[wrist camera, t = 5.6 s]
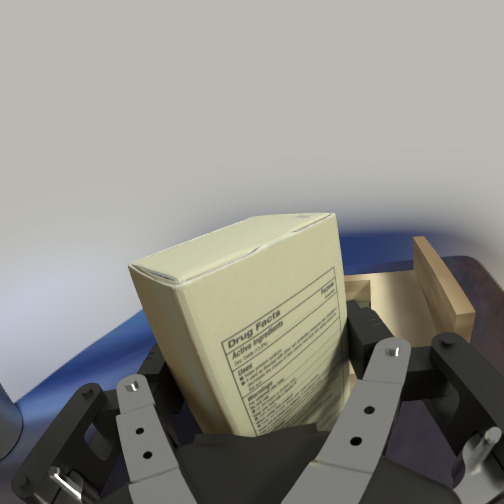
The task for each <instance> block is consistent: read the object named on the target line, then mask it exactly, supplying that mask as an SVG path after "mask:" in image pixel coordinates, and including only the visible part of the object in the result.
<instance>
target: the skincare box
mask: <svg viewBox="0 0 504 504" xmlns="http://www.w3.org/2000/svg"><path fill="white" fill-rule="evenodd" d="M128 268H129V271H130V274H131V277H132V280H133V283H134V286H135V288H136V291H137V293H138V296H139V299H140V301H141V304H142V307H143V309H144V312H145V314H146V317H147V319H148V322H149V324H150V327H151V329H152V332H153V334H154V336H155V339H156V341H157V343H158V345H159V348H160V350H161V352H162V355H163V357H164V359H165V361H166V363H167V365H168V367H169V369H170V372H171V374H172V376H173V378H174V380H175V382H176V384H177V386H178V388H179V390H180V392H181V394H182V395H183V397H184V399H185V401H186V403H187V405H188V407H189V409H190V411H191V412H192V414H193V416H194V418H195V419H196V421H197V423H198V424H199V426H200V428H201V430H202V431H203V433H204V434H212V433H225V434H232V435H239V436H246V437H256V436H260V435H263V434H267V433H270V432H273V431H276V430H280V429H283V428H286V427H293V426H299V425H305V424H311V423H316V426H317V431H332V429H333V427H334V426H335V424H336V422H337V420H338V418H339V416H340V414H341V412H342V410H343V408H344V406H345V404H346V402H347V400H348V398H349V396H350V364H349V341H348V321H347V307H346V294H345V284H344V275H343V266H342V258H341V251H340V243H339V236H338V228H337V221H336V215H335V214H334V213H301V214H282V215H281V214H279V215H265V216H256V217H251V218H249V219H246V220H244V221H241V222H238V223H235V224H232V225H231V226H227V227H224V228H221V229H219V230H216V231H213V232H211V233H208V234H206V235H202V236H200V237H197V238H195V239H193V240H189V241H187V242H184V243H182V244H180V245H176V246H174V247H172V248H169V249H166V250H163V251H161V252H158V253H156V254H153V255H151V256H148V257H145V258H143V259H140V260H138V261H135V262H132V263H129V264H128Z"/></svg>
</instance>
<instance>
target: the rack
mask: <svg viewBox="0 0 504 504" xmlns="http://www.w3.org/2000/svg"><path fill="white" fill-rule="evenodd" d="M413 251H414V252H413V255H414V270H410V271H399V272H387V273H375V274H363V275H349V276H344V284H345V294H346V301H348V300H352V299H355V301H356V302H357V303H358V305H359V306H360V308H364V307H368V308H369V302H371V309H372V310H374V311H376V313H377V314H378V315H379V317H380V318H381V319H382V321H383V323H385V325H386V326H387V327H388V329H389V330H390V331H391V333H392V334H393V335H394V337H397V338H402V339H405V340H406V341H408V342H409V343H410V345H411V347H424V346H431V341H432V339H433V337H434V336H436V335H437V334H439V333H443V332H453V333H457V334H459V335H460V336H462V337H463V338H464V339H465V340H466V341H467V342H468V343H470V338H471V334H472V329H473V324H474V318H475V310H474V308H473V307H472V305H471V303H470V302H469V300H468V299H467V297H466V295H465V294H464V292H463V291H462V289H461V287H460V286H459V284H458V283H457V281H456V280H455V278H454V277H453V275H452V274H451V272H450V271H449V270H448V268H447V267H446V265H445V264H444V262H443V261H442V260H441V258H440V257H439V256H438V254H437V253H436V252H435V250H434V249H433V248H432V246H431V245H430V244H429V242H428V241H427V240H426V239H425V237H424V236H419V237H413ZM349 364H350V394H351V391H352V389H353V387H354V385H355V383H356V381H357V380H358V379H357V377H356V375H355V372H354V370H353V367H352V365H351V363H350V360H349Z"/></svg>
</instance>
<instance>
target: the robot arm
mask: <svg viewBox="0 0 504 504" xmlns="http://www.w3.org/2000/svg"><path fill="white" fill-rule="evenodd" d="M346 307H347V321H348V341H349V360H350V363H351V365H352V367H353V370H354V372H355V375H356V377H357V379H358V380H357V381H356V383H355V385H354V387H353V389H352V391H351V394H350V396H349V398H348V400H347V402H346V404H345V406H344V408H343V410H342V412H341V414H340V416H339V418H338V420H337V422H336V424H335V426H334V427H333V429H332V431H317V426H316V423H311V424H305V425H299V426H293V427H286V428H283V429H280V430H276V431H273V432H270V433H267V434H263V435H260V436H256V437H246V436H239V435H232V434H225V433H212V434H195V438H194V442H190V443H187V444H184V445H181V443H180V441H179V439H178V437H177V435H176V433H175V431H174V428H173V426H172V424H171V422H170V420H169V419H168V417H169V414H180V411H181V408H182V405H183V402H184V397H183V395H182V394H181V392H180V390H179V388H178V386H177V384H176V382H175V380H174V378H173V376H172V374H171V372H170V369H169V367H168V365H167V363H166V361H165V359H164V357H163V355H162V352H161V350H160V348H159V345H158V343H156V344H155V345H154V346H153V347H152V349H151V350H150V352H149V354H148V355H147V357H146V359H145V360H144V362H143V364H142V365H141V367H140V369H139V371H138V372H137V374H134V375H130V376H127V377H125V378H124V379H122V380H121V381H120V382H119V383H118V385H117V387H116V389H115V390H110V391H104V392H103V390H102V388H101V387H100V385H99V384H97V383H88V384H85V385H83V386H81V387H80V388H79V389H78V390H77V391H76V392H75V393H74V395H73V396H72V397H71V398H70V400H69V401H68V402H67V404H66V405H65V406H64V408H63V409H62V410H61V411H60V413H59V414H58V415H57V417H56V418H55V419H54V421H53V422H52V423H51V425H50V426H49V427H48V429H47V430H46V431H45V433H44V434H43V435H42V437H41V438H40V440H39V441H38V442H37V444H36V445H35V447H34V448H33V449H32V451H31V452H30V454H29V455H28V456H27V458H26V459H25V461H24V462H23V464H22V465H21V467H20V468H19V470H18V471H17V473H16V474H15V475H14V477H13V479H12V484H11V485H12V490H13V492H14V493H15V495H17V496H18V497H19V498H20V499H22V500H23V501H24V502H25V503H27V504H494V503H497V502H499V501H500V500H502V499H503V498H504V377H503V376H502V375H501V374H500V373H499V372H498V371H497V370H496V369H495V368H494V367H493V366H492V365H491V364H490V363H489V362H488V361H487V360H486V359H485V358H484V357H483V356H482V355H481V354H480V353H479V352H478V351H477V350H476V349H475V348H474V347H473V346H471V345H470V344H469V343H468V342H467V341H466V340H465V339H464V338H463V337H462V336H460V335H459V334H457V333H453V332H443V333H439V334H437V335H436V336H434V337H433V339H432V341H431V346H424V347H411V345H410V343H409V342H408V341H406V340H405V339H402V338H397V337H394V335H393V334H392V333H391V331H390V330H389V329H388V327H387V326H386V325H385V323H383V321H382V319H381V318H380V317H379V315H378V314H377V313H376V311H374V310H372V309H370V308H368V307H364V308H360V306H359V305H358V303H357V302H356V301H355V299H352V300H348V301H346ZM413 400H422V401H423V402H424V404H425V406H426V407H427V409H428V410H429V412H430V413H431V415H432V417H433V418H434V420H435V422H436V423H437V425H438V426H439V428H440V430H441V431H442V433H443V435H444V436H445V438H446V440H447V441H448V443H449V445H450V447H451V448H452V450H453V452H454V453H455V455H456V457H457V458H456V460H455V461H454V463H453V465H452V470H451V473H452V477H453V489H451V488H450V487H448V486H446V485H444V484H442V483H440V482H437V481H435V480H433V479H430V478H428V477H426V476H424V475H421V474H419V473H417V472H415V471H413V470H411V469H409V468H406V467H404V466H402V465H400V464H398V463H396V462H394V461H393V460H391V459H389V458H387V457H386V454H387V451H388V448H389V445H390V442H391V439H392V435H393V432H394V429H395V426H396V423H397V419H398V416H399V412H400V409H401V405H402V401H413ZM91 423H93V425H94V426H95V427H96V429H97V432H96V434H95V435H94V437H93V439H92V440H91V442H90V444H89V445H87V444H86V442H85V440H84V435H85V432H86V431H87V429H88V427H89V426H90V424H91ZM21 430H22V416H21V414H20V412H19V411H18V409H17V408H16V407H15V405H14V404H13V402H12V401H11V399H10V398H9V396H8V395H7V393H6V392H5V390H4V389H3V387H2V385H1V384H0V460H1V459H2V458H4V457H5V456H6V455H7V454H8V453H9V452H10V451H11V449H12V448H13V447H14V445H15V444H16V442H17V440H18V438H19V436H20V433H21ZM121 449H122V450H123V454H124V458H125V462H126V466H127V469H128V473H129V476H130V480H128V481H127V482H125V483H124V484H122V485H121V486H119V487H118V488H116V489H115V490H113V491H111V492H110V493H108V494H107V495H105V496H103V497H102V498H100V493H101V491H102V489H103V487H104V484H105V482H106V480H107V478H108V476H109V474H110V472H111V470H112V468H113V466H114V464H115V462H116V459H117V457H118V455H119V453H120V451H121Z"/></svg>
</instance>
